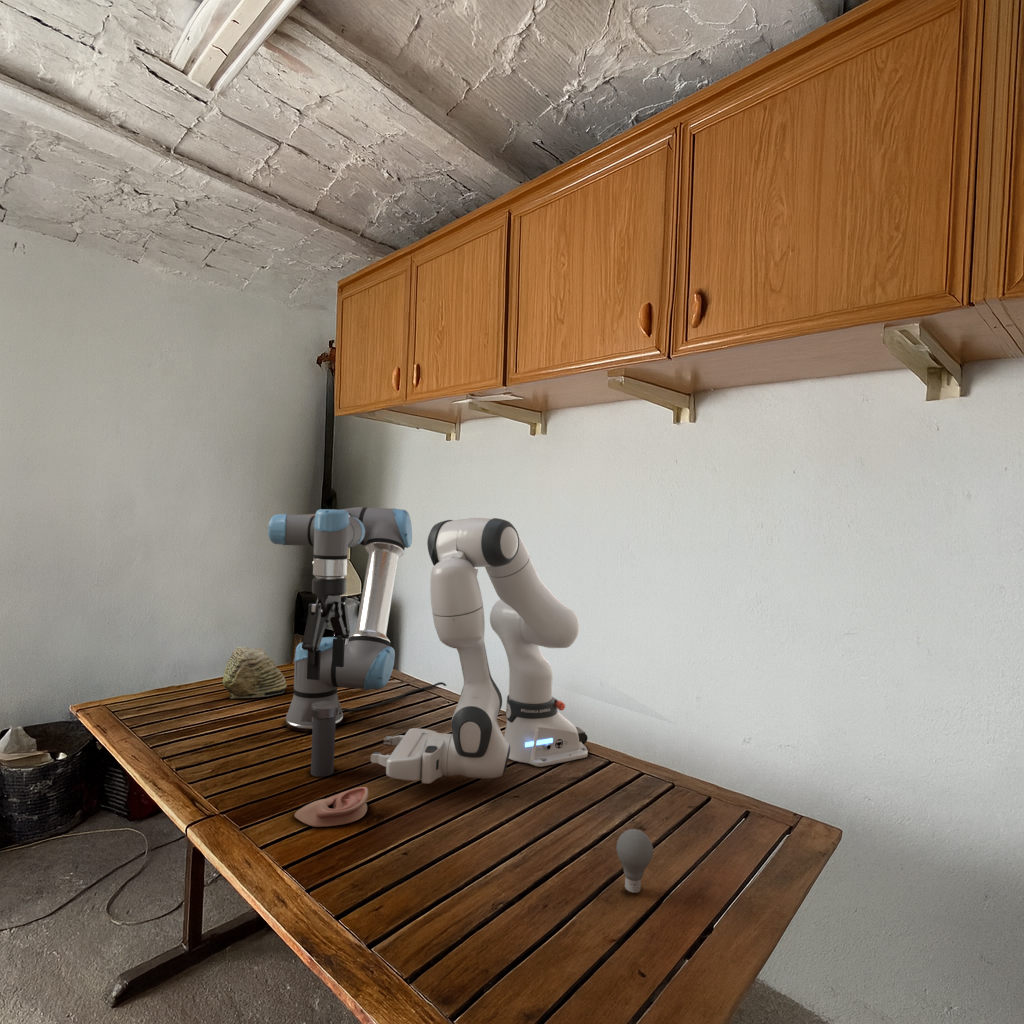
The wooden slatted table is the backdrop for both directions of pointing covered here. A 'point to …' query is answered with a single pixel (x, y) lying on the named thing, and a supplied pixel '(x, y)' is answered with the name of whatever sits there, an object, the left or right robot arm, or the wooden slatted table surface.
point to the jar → (323, 746)
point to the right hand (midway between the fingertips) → (378, 748)
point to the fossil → (252, 674)
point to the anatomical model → (335, 809)
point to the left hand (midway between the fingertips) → (326, 672)
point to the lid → (324, 709)
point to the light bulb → (634, 857)
